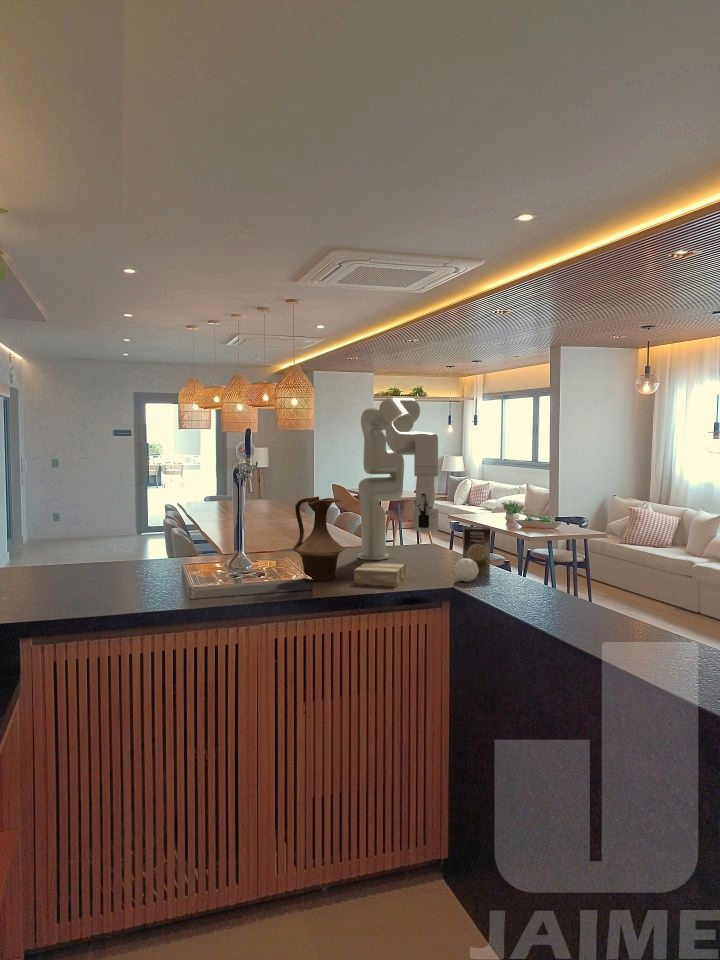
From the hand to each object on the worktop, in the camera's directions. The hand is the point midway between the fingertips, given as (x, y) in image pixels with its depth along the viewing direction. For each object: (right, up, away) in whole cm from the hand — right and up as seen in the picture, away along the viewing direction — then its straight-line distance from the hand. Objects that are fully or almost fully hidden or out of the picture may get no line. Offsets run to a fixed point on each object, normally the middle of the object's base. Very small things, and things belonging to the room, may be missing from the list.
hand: (426, 525), depth 220 cm
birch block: (-14, -19, +8) cm, 25 cm away
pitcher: (-35, -19, +12) cm, 42 cm away
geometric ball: (+14, -19, +6) cm, 24 cm away
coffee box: (+19, -18, +18) cm, 32 cm away
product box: (0, -2, 0) cm, 2 cm away
